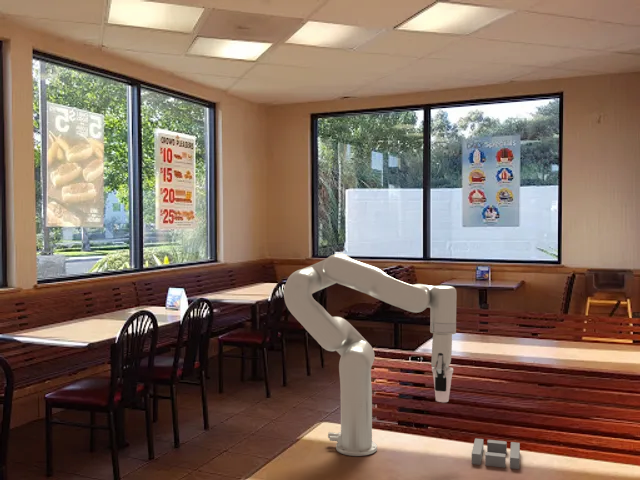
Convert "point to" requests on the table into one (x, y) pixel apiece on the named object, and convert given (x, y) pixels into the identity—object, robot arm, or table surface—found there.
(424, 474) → the table surface
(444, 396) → the smoothie
